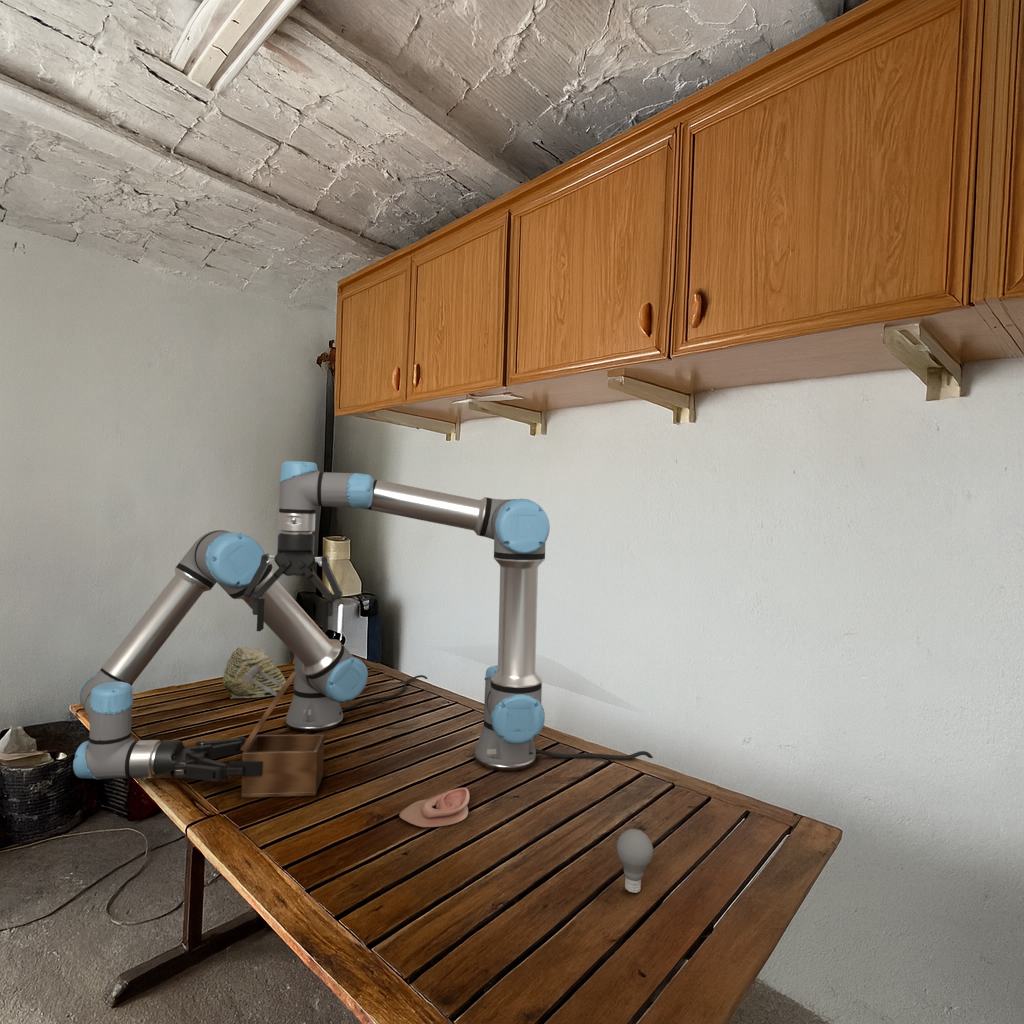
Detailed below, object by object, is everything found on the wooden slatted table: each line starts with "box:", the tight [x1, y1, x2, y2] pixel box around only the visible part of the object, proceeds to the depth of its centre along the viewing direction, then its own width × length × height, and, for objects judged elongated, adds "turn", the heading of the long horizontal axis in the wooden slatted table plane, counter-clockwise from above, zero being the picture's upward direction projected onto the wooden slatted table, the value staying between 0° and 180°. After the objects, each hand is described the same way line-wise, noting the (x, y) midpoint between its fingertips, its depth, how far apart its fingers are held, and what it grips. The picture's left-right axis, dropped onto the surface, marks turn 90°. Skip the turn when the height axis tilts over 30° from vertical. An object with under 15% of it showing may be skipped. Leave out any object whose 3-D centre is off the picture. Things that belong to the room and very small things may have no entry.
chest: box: [240, 733, 325, 799], centre depth 138 cm, size 15×10×9 cm
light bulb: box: [615, 828, 654, 894], centre depth 106 cm, size 6×6×10 cm
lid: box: [241, 665, 297, 752], centre depth 137 cm, size 16×10×9 cm
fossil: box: [222, 646, 287, 699], centre depth 198 cm, size 9×18×15 cm, turn 132°
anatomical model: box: [398, 787, 471, 828], centre depth 128 cm, size 13×4×12 cm
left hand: (268, 757), depth 137 cm, fingers closed on chest, 10 cm apart
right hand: (292, 630), depth 137 cm, fingers open, 13 cm apart
